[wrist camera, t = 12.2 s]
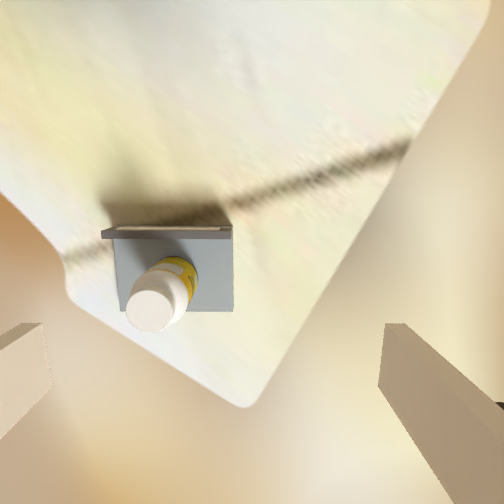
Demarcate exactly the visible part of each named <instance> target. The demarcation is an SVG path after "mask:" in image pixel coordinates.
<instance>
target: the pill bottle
mask: <svg viewBox="0 0 504 504" xmlns="http://www.w3.org/2000/svg"><path fill="white" fill-rule="evenodd" d="M197 286H198V273H197V270H196V268H195V267H194V265H193V264H192V263H191V262H190V261H188V260H187V259H185V258H183V257H179V256H169V257H165V258H163V259H161V260H160V261H158V262H157V263H156V264H155V265H154V266H152V267H151V268H150V269H149V270H147V271H146V272H145V273H144V274H143V275H141V276H140V277H139V278H138V279H137V280H136V281H135V283H134V284H133V286H132V288H131V291H130V298H129V300H128V302H127V305H126V315H127V318H128V320H129V322H130V323H131V324H132V325H133V326H134V327H135V328H136V329H138V330H140V331H143V332H147V333H154V332H159V331H161V330H163V329H164V328H166V327H167V326H168V325H170V324H172V323H174V322H176V321H177V320H179V319H180V318H181V317H182V316H183V314H184V313H185V311H186V309H187V307H188V305H189V303H190V301H191V299H192V297H193V295H194V293H195V291H196V289H197Z"/></svg>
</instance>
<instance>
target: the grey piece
mask: <svg viewBox="0 0 504 504" xmlns="http://www.w3.org/2000/svg"><path fill="white" fill-rule="evenodd" d="M101 237H102V239H113V242H114V253H115V263H116V273H117V283H118V293H119V303H120V311H126V305H127V302H128V300H129V298H130V291H131V288H132V286H133V284H134V283H135V281H136V280H137V279H138V278H139V277H140V276H141V275H143V274H144V273H145V272H146V271H147V270H149V269H150V268H151V267H152V266H154V265H155V264H156V263H157V262H158V261H160V260H161V259H163V258H165V257H169V256H179V257H183V258H185V259H187V260H188V261H190V262H191V263H192V264H193V265H194V267H195V268H196V270H197V273H198V286H197V289H196V291H195V293H194V295H193V297H192V299H191V301H190V303H189V305H188V307H187V309H186V311H194V312H233V307H234V298H233V226H115V227H112V228H109V229H105V230H102V231H101Z"/></svg>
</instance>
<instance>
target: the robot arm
mask: <svg viewBox="0 0 504 504" xmlns="http://www.w3.org/2000/svg"><path fill="white" fill-rule="evenodd" d="M51 387H52V382H51V376H50V369H49V363H48V357H47V351H46V345H45V339H44V332H43V326H42V323H21V324H20V325H18V326H16V327H15V328H13V329H11V330H9V331H8V332H6V333H4V334H3V335H1V336H0V439H1V438H2V437H3V436H4V435H5V434H6V433H7V432H8V431H9V430H10V429H11V428H12V427H13V426H14V425H15V424H16V423H17V422H18V421H19V420H20V419H21V418H22V417H23V416H24V415H25V414H26V413H27V412H28V410H30V409H31V408H32V407H33V406H34V404H36V403H37V402H38V401H39V400H40V399H41V397H43V396H44V394H46V393H47V392H48V391H49V390H50V388H51ZM378 387H379V389H380V390H381V391H382V393H383V395H384V396H385V397H386V399H387V401H388V402H389V404H390V406H391V407H392V409H393V410H394V412H395V413H396V415H397V416H398V418H399V419H400V421H401V423H402V424H403V426H404V427H405V429H406V430H407V432H408V433H409V435H410V436H411V438H412V440H413V441H414V443H415V444H416V446H417V447H418V449H419V450H420V452H421V453H422V455H423V457H424V458H425V460H426V461H427V463H428V464H429V466H430V467H431V469H432V470H433V472H434V473H435V475H436V477H437V478H438V480H439V481H440V483H441V484H442V486H443V487H444V489H445V490H446V492H447V493H448V495H449V497H450V498H451V500H452V501H453V503H454V504H504V403H503V402H494V401H493V400H492V399H490V398H489V397H488V396H487V395H486V394H485V393H484V392H482V391H481V390H480V389H479V388H478V387H477V386H476V385H475V384H473V383H472V382H471V381H470V380H469V379H468V378H466V377H465V376H464V375H463V374H462V373H461V372H460V371H458V370H457V369H456V368H455V367H454V366H453V365H452V364H451V363H449V362H448V361H447V360H446V359H445V358H444V357H443V356H441V355H440V354H439V353H438V352H437V351H436V350H434V349H433V348H432V347H431V346H430V345H429V344H428V343H427V342H425V341H424V340H423V339H422V338H421V337H420V336H418V335H417V334H416V333H415V332H414V331H413V330H412V329H411V328H409V327H408V326H407V325H406V324H385V330H384V338H383V347H382V356H381V365H380V374H379V383H378Z"/></svg>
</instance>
